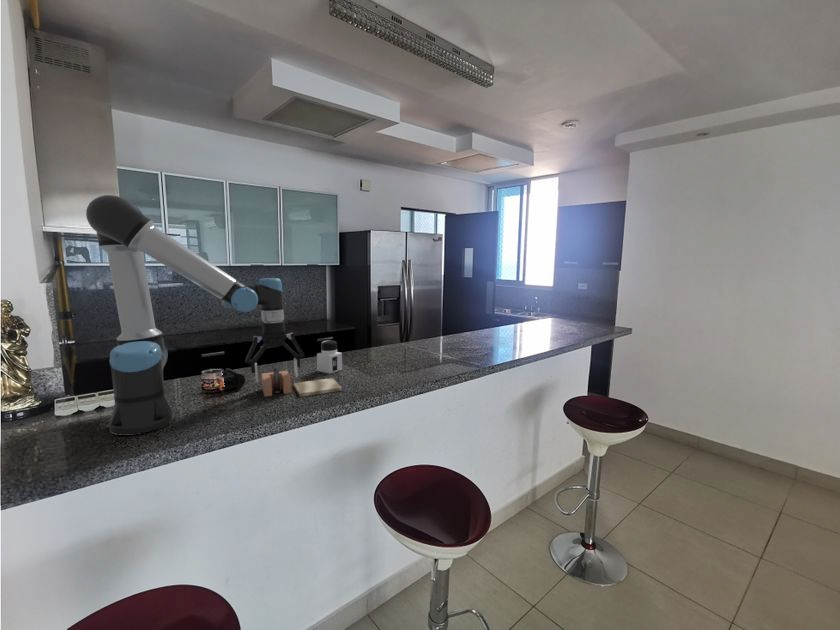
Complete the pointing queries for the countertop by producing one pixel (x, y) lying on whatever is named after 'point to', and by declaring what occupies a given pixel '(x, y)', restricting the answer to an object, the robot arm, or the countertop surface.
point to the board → (317, 387)
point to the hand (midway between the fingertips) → (277, 378)
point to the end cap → (232, 380)
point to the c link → (269, 382)
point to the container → (329, 358)
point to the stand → (276, 380)
